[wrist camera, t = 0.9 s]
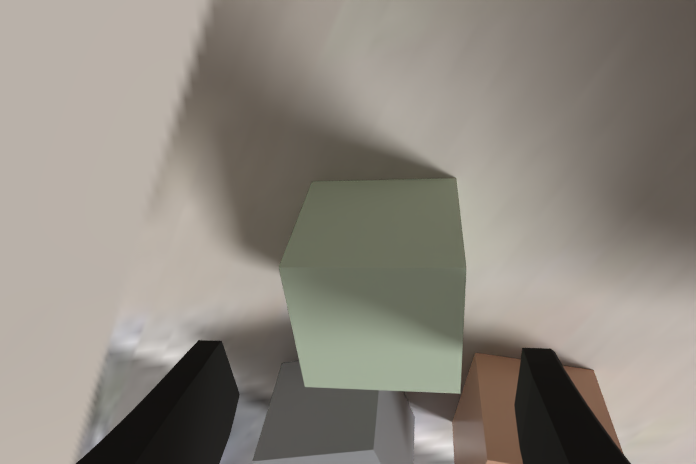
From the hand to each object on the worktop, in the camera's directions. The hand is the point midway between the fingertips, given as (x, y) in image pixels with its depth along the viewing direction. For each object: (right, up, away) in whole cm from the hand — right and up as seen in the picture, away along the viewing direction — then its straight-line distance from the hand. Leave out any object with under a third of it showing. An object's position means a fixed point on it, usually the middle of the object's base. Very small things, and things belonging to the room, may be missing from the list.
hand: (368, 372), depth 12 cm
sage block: (+1, +3, +5) cm, 6 cm away
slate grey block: (0, -3, +9) cm, 10 cm away
